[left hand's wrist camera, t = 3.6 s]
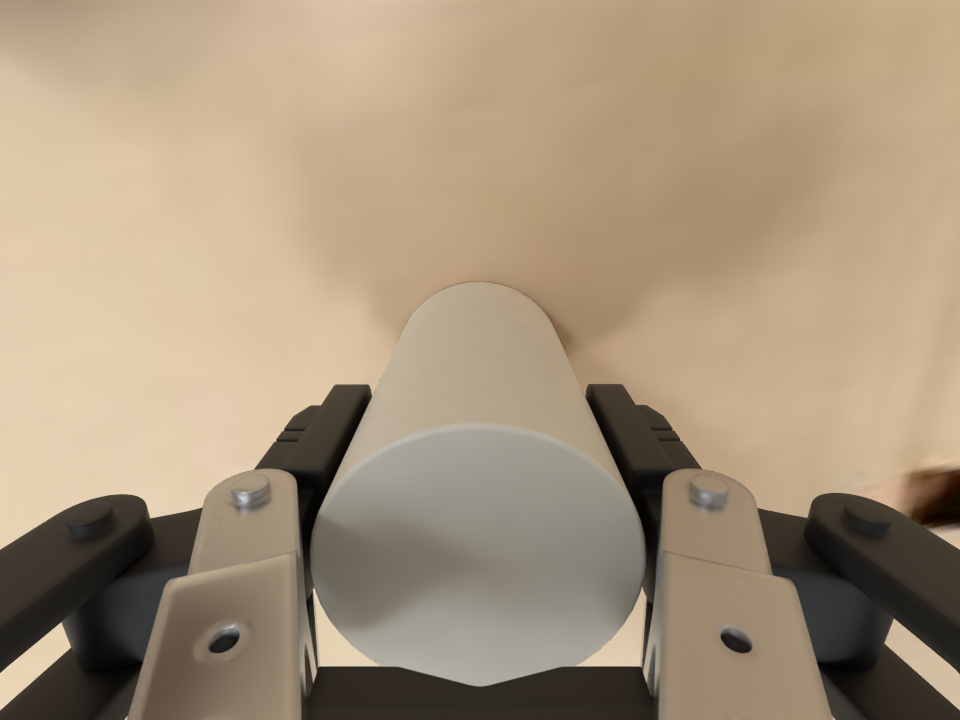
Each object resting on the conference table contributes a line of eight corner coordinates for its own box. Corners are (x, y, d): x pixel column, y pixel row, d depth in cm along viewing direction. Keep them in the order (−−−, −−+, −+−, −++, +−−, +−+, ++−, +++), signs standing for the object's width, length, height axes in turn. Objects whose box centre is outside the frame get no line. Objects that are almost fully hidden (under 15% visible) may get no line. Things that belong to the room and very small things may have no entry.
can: (463, 459, 16) (447, 733, 9) (364, 345, 15) (236, 545, 7) (591, 377, 15) (708, 602, 8) (498, 246, 14) (520, 352, 6)
